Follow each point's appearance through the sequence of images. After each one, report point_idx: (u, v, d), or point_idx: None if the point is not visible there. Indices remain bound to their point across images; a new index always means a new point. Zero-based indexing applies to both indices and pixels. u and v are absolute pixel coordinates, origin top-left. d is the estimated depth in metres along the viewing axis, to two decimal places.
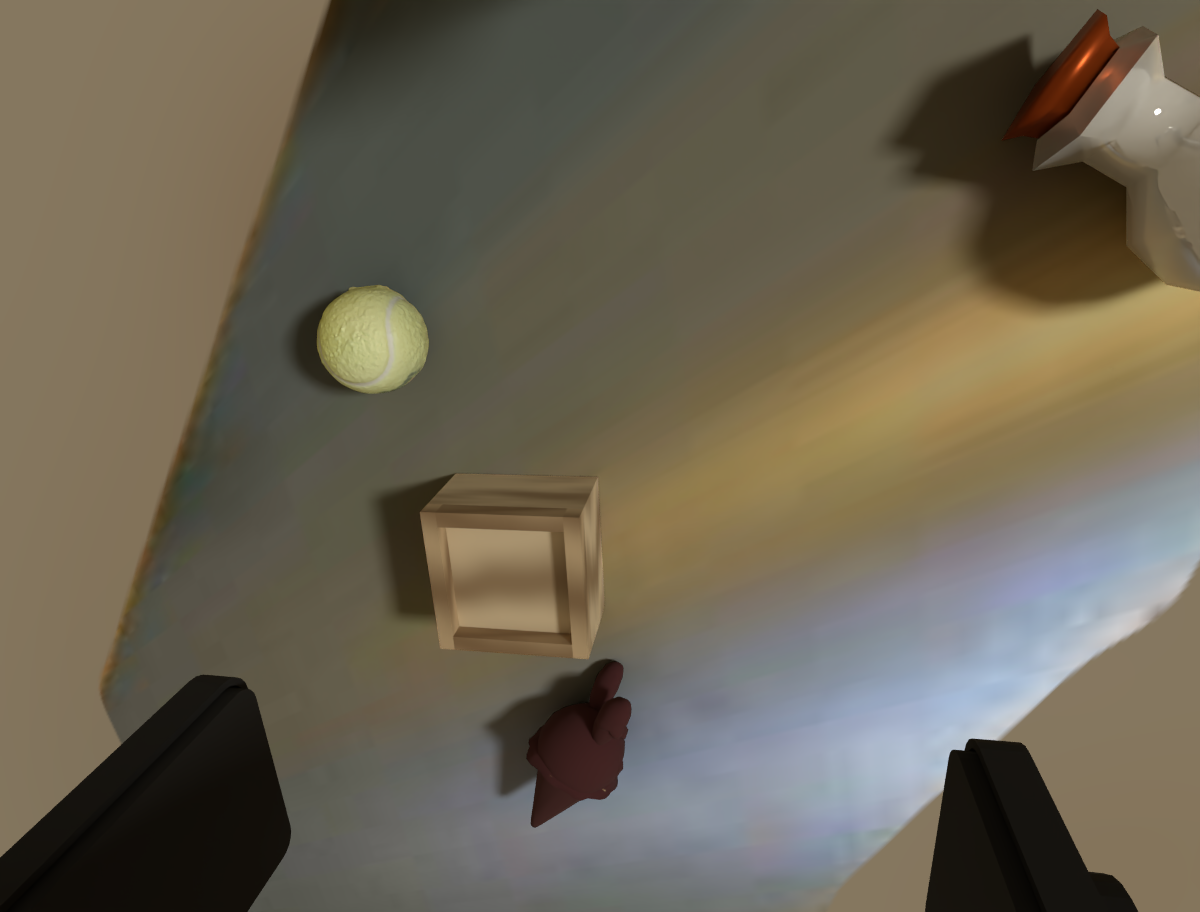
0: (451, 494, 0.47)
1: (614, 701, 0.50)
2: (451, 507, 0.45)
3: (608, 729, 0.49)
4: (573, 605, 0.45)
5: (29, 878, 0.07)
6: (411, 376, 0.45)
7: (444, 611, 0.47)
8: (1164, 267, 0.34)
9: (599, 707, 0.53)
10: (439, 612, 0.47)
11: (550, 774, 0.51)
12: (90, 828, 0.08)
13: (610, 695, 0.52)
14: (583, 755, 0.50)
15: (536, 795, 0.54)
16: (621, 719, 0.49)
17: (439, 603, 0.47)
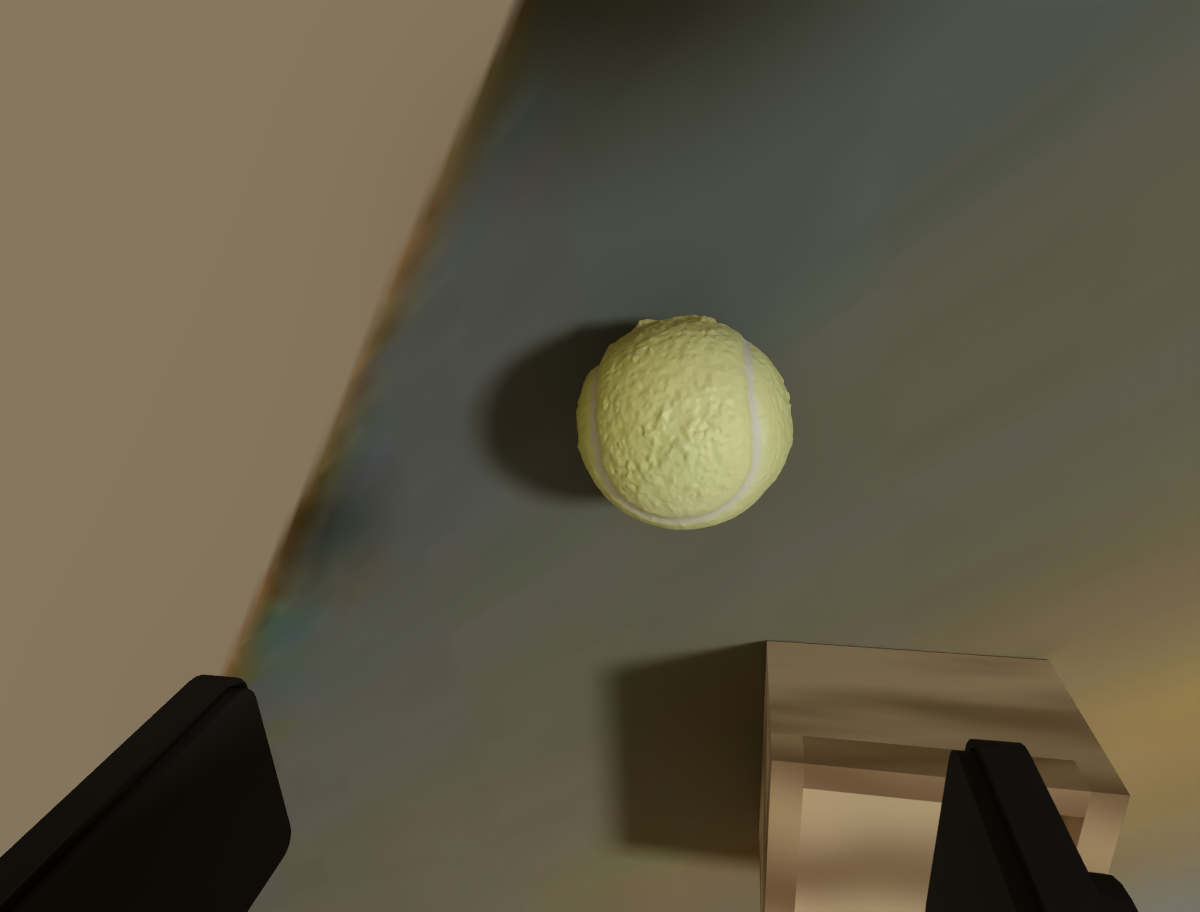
0: (799, 702, 0.25)
1: None
2: (827, 748, 0.23)
3: None
4: None
5: (29, 878, 0.07)
6: None
7: None
8: None
9: None
10: None
11: None
12: (90, 828, 0.08)
13: None
14: None
15: None
16: None
17: (777, 908, 0.25)
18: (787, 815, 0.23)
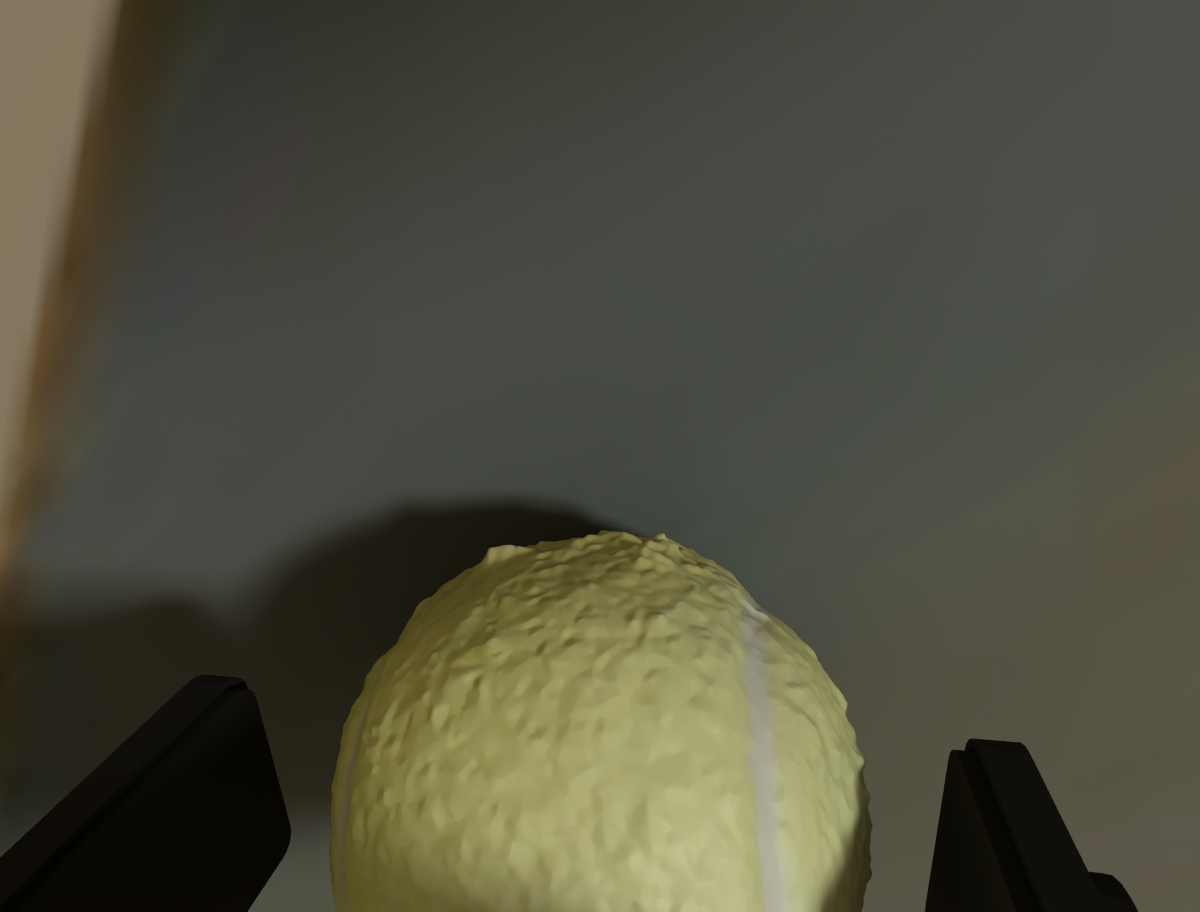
0: None
1: None
2: None
3: None
4: None
5: (28, 878, 0.07)
6: None
7: None
8: None
9: None
10: None
11: None
12: (90, 828, 0.08)
13: None
14: None
15: None
16: None
17: None
18: None
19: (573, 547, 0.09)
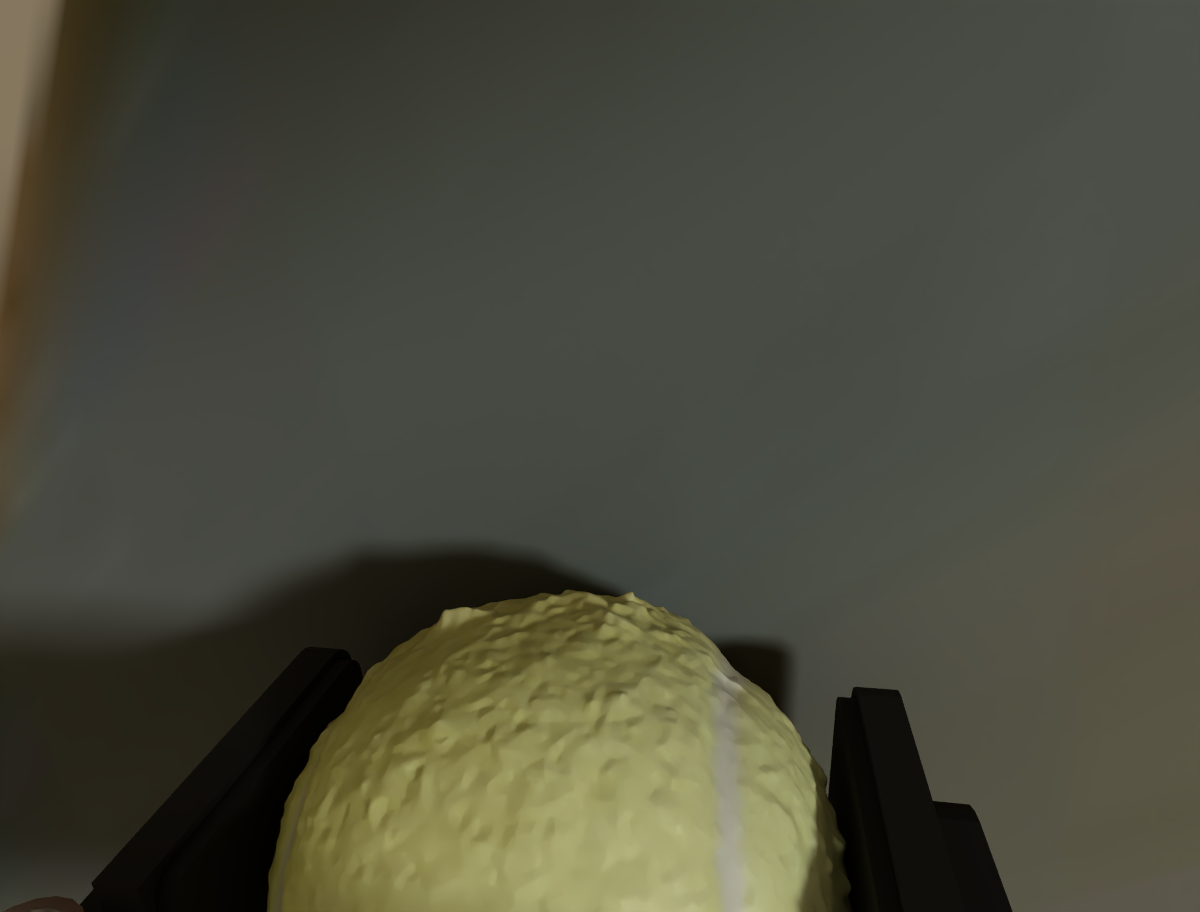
0: None
1: None
2: None
3: None
4: None
5: (189, 827, 0.08)
6: None
7: None
8: None
9: None
10: None
11: None
12: (235, 784, 0.08)
13: None
14: None
15: None
16: None
17: None
18: None
19: (533, 611, 0.08)
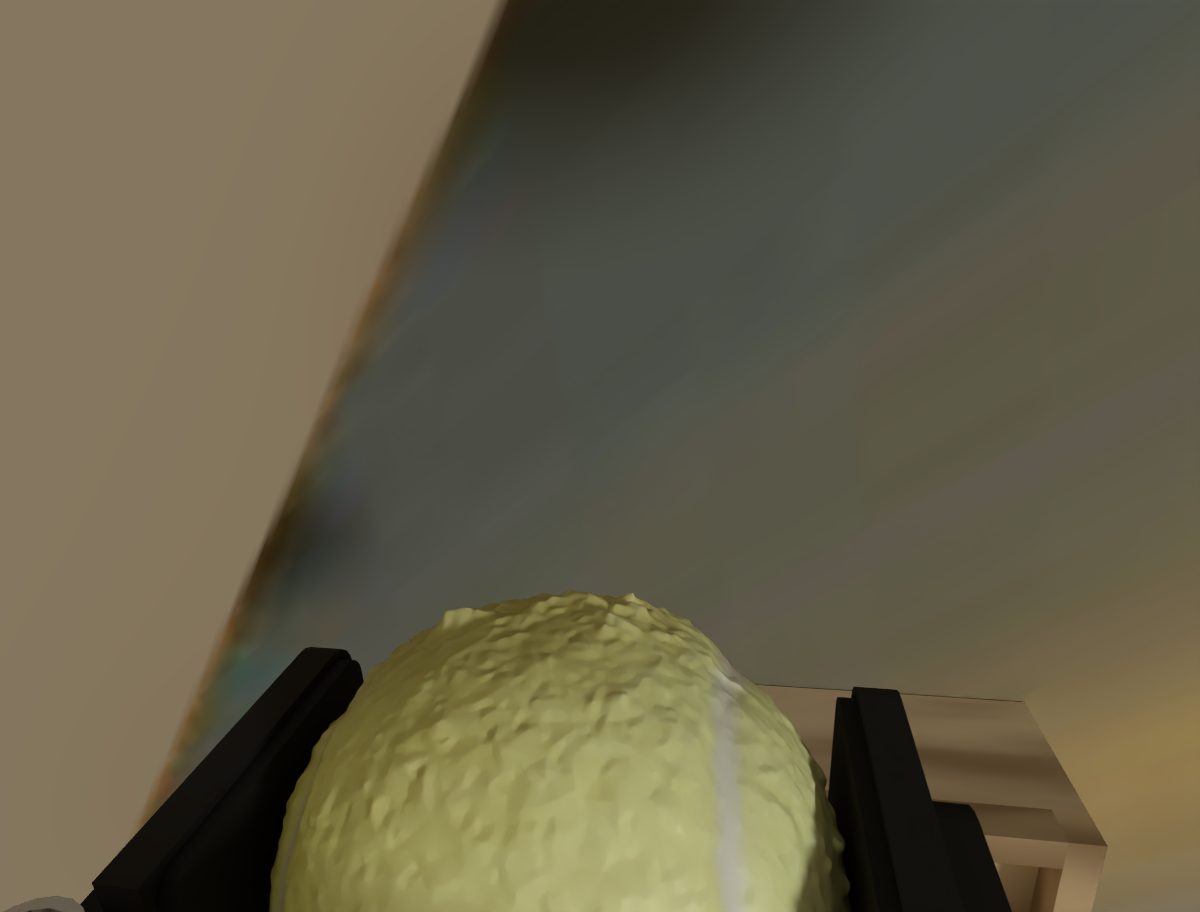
0: None
1: None
2: None
3: None
4: None
5: (190, 826, 0.08)
6: None
7: None
8: None
9: None
10: None
11: None
12: (236, 783, 0.08)
13: None
14: None
15: None
16: None
17: None
18: None
19: (534, 611, 0.08)
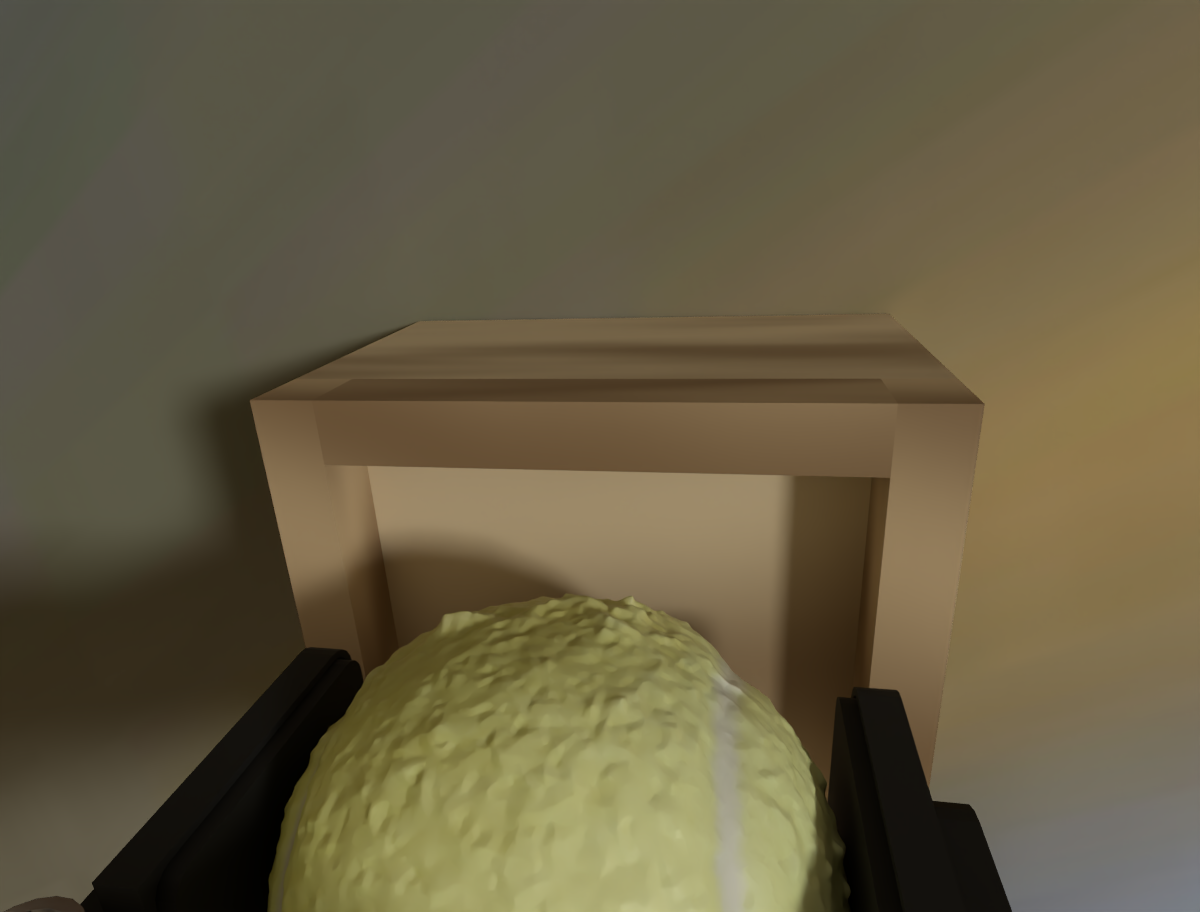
0: (395, 356, 0.13)
1: None
2: (383, 386, 0.11)
3: None
4: None
5: (191, 826, 0.08)
6: None
7: None
8: None
9: None
10: None
11: None
12: (236, 783, 0.08)
13: None
14: None
15: None
16: None
17: None
18: (313, 536, 0.11)
19: (533, 615, 0.08)
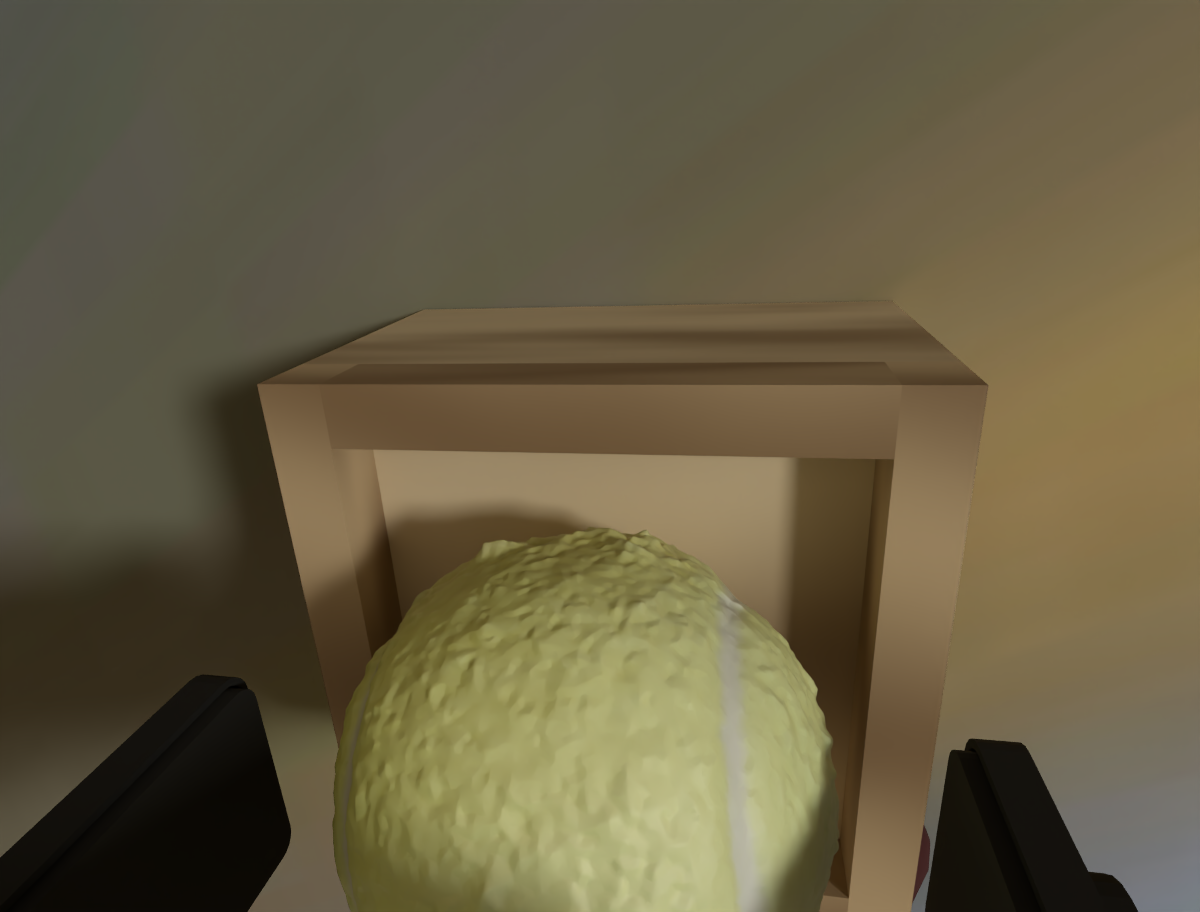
0: (400, 342, 0.13)
1: None
2: (389, 371, 0.11)
3: None
4: (881, 764, 0.11)
5: (28, 878, 0.07)
6: None
7: None
8: None
9: None
10: None
11: None
12: (90, 828, 0.08)
13: None
14: None
15: None
16: None
17: None
18: (320, 520, 0.11)
19: (562, 542, 0.10)
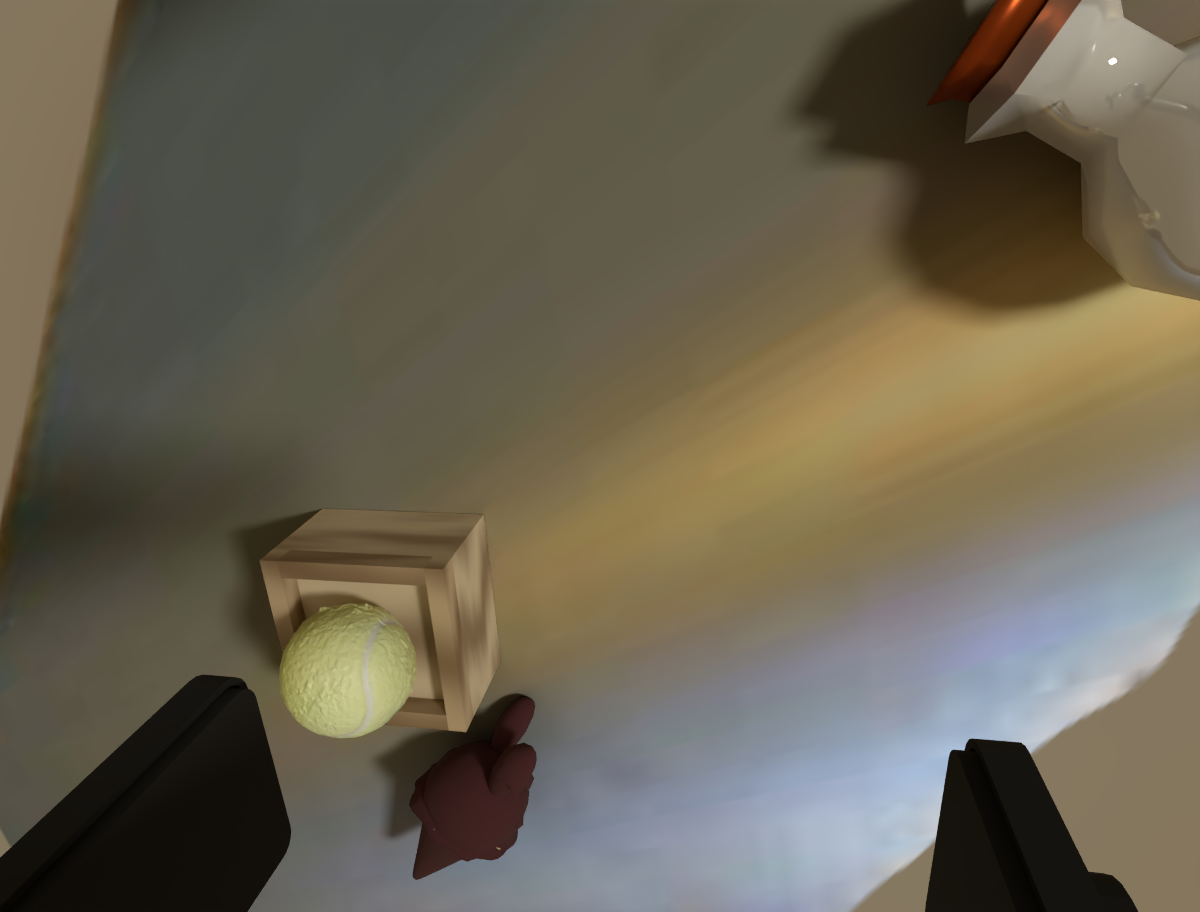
0: (306, 536, 0.40)
1: (517, 749, 0.41)
2: (298, 554, 0.38)
3: (506, 782, 0.41)
4: (444, 670, 0.38)
5: (29, 878, 0.07)
6: (395, 713, 0.37)
7: None
8: (1128, 264, 0.27)
9: (502, 750, 0.45)
10: None
11: (434, 827, 0.43)
12: (90, 828, 0.08)
13: (516, 737, 0.44)
14: (475, 808, 0.42)
15: (420, 845, 0.46)
16: (522, 772, 0.41)
17: None
18: (278, 598, 0.38)
19: (339, 607, 0.36)
